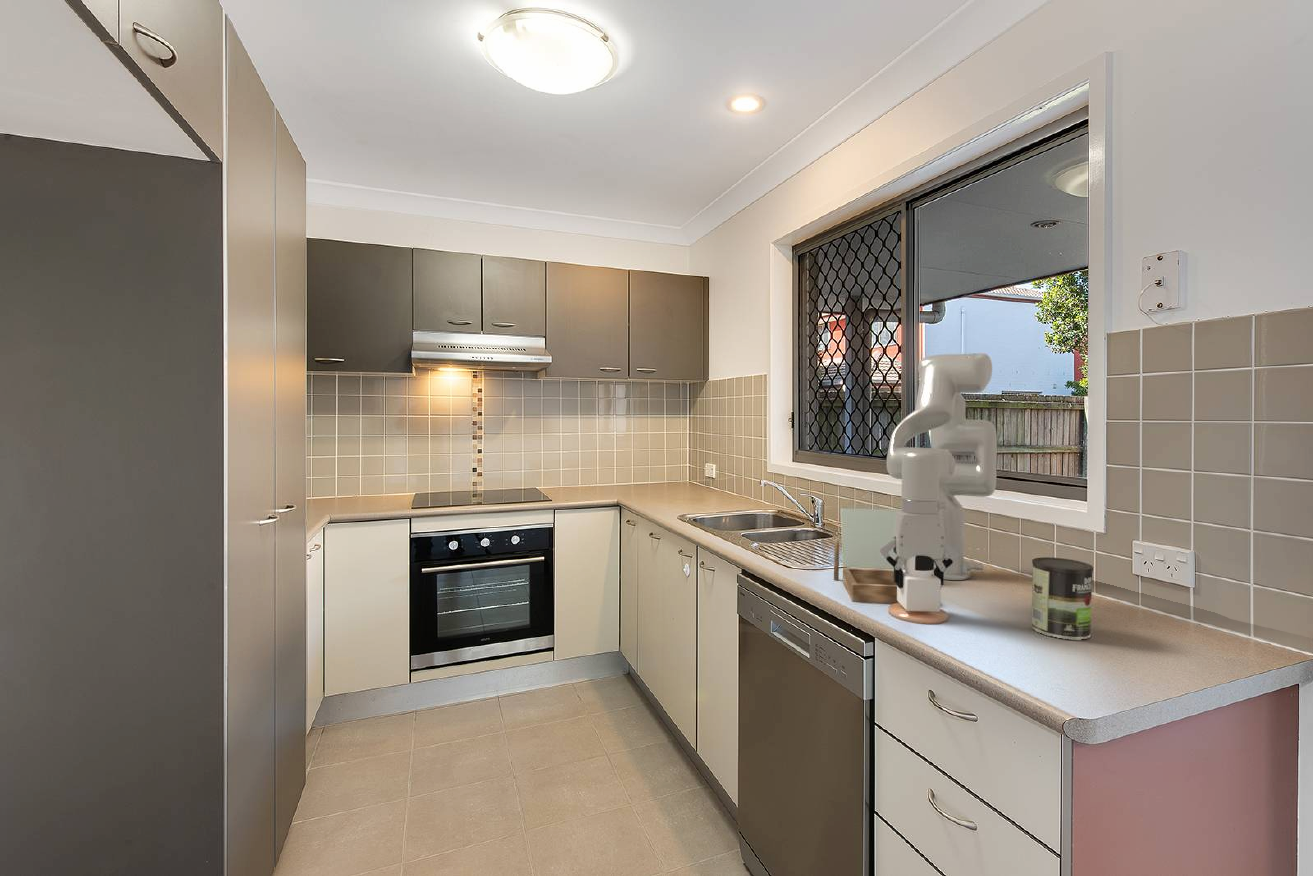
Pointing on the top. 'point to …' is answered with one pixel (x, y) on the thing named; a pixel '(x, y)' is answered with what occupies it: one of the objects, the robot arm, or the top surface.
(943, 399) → the robot arm
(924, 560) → the medicine bottle
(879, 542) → the lid
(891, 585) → the frame
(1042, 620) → the coffee can
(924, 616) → the saucer
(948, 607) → the top surface
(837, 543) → the prop stake
